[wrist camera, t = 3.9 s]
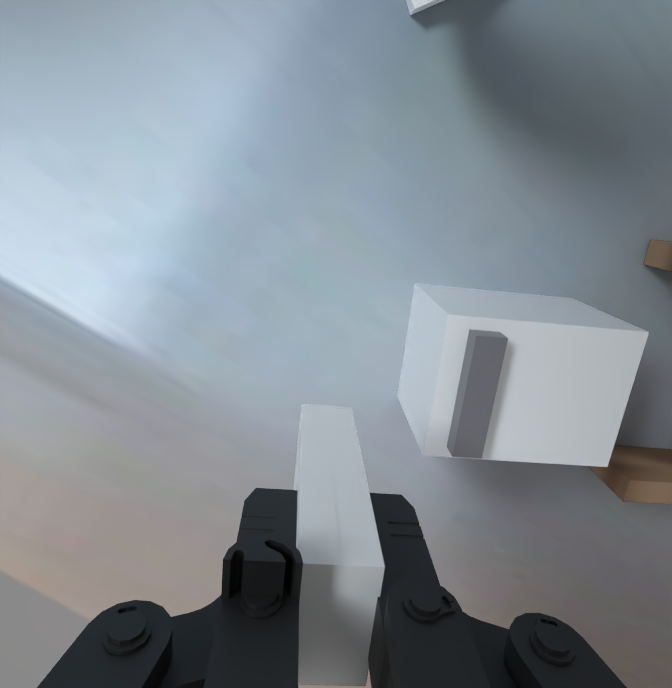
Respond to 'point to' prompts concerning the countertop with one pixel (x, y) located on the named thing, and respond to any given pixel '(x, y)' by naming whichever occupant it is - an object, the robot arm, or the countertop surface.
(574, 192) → the countertop surface
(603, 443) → the matte white cube
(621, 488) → the bay
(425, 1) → the headphone stand
